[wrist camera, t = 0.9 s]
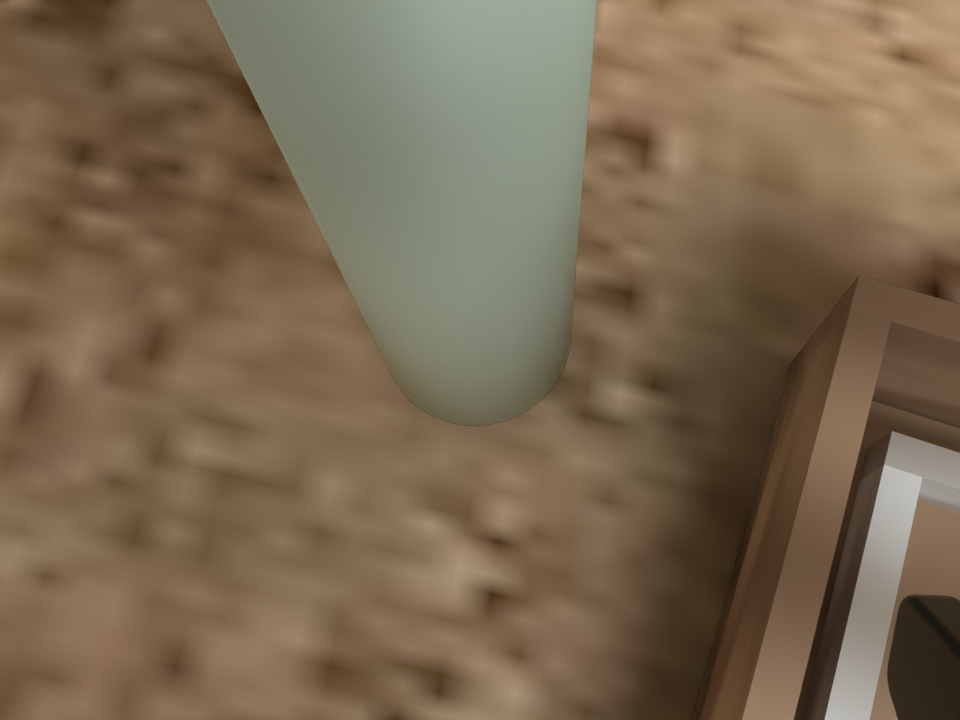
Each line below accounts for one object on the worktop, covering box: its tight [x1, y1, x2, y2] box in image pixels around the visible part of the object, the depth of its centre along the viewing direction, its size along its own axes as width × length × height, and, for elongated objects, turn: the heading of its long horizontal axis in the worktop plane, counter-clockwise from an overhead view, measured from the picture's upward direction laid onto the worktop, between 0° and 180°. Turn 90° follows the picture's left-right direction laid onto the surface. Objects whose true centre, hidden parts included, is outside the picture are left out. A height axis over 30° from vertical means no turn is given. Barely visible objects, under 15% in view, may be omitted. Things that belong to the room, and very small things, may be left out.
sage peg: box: [206, 0, 597, 426], centre depth 16 cm, size 5×5×14 cm
